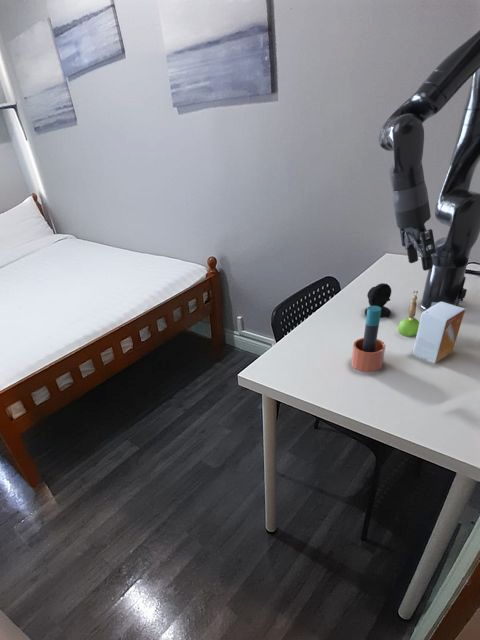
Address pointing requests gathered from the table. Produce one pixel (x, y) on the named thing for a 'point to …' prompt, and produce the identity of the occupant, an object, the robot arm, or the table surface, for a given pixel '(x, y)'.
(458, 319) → the small box
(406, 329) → the snail figurine
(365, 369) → the pen cup
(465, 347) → the table surface
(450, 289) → the robot arm
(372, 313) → the marker pen
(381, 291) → the webcam
